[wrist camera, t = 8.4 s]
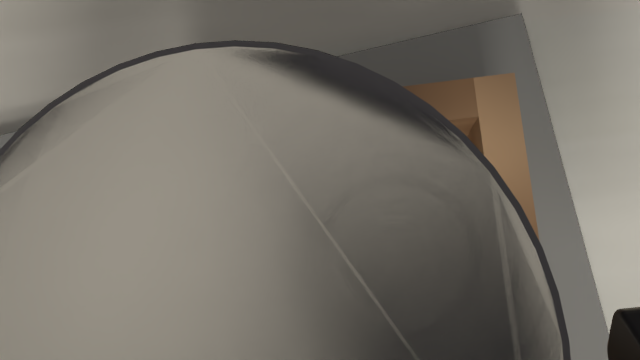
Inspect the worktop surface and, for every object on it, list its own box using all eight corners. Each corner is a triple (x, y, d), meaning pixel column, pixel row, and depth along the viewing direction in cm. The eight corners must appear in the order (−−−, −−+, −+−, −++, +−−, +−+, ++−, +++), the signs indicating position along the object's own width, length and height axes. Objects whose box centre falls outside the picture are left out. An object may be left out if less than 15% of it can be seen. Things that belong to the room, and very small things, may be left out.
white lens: (475, 274, 17) (730, 328, 4) (362, 414, 17) (254, 930, 4) (337, 164, 18) (187, -78, 5) (230, 296, 18) (-210, 401, 5)
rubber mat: (516, 23, 19) (521, 13, 18) (638, 477, 17) (650, 487, 16) (-153, 179, 21) (-174, 175, 20) (-126, 601, 19) (-149, 615, 18)
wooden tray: (536, 436, 16) (574, 481, 13) (208, 456, 18) (163, 502, 14) (491, 109, 18) (514, 72, 15) (190, 144, 19) (146, 118, 16)
